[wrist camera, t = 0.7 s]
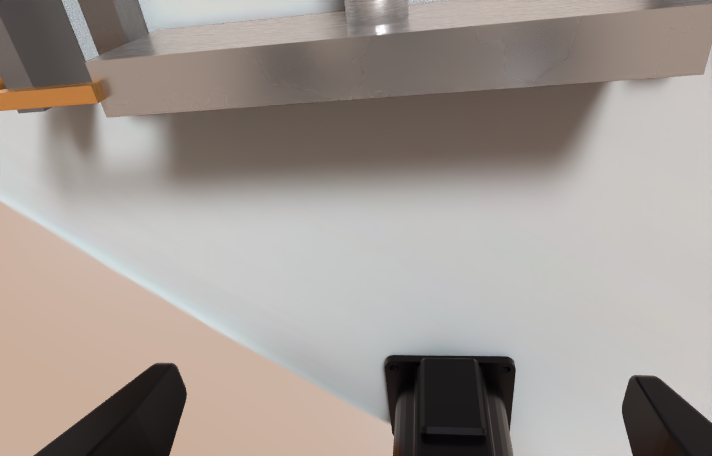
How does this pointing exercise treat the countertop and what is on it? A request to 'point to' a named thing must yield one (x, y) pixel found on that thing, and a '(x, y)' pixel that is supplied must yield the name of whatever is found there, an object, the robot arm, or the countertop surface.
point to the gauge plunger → (388, 54)
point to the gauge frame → (113, 22)
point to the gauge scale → (38, 46)
